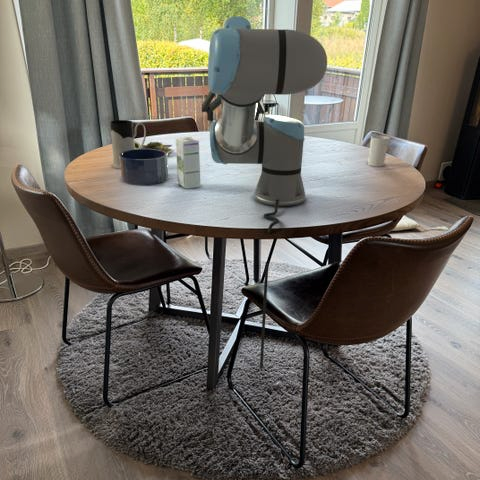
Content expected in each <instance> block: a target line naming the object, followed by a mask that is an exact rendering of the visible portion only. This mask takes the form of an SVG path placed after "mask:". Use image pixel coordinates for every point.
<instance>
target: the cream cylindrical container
mask: <svg viewBox="0 0 480 480" xmlns="http://www.w3.org/2000/svg"><path fill="white" fill-rule="evenodd" d="M389 142H390V136H387V135H381V134H374V135H370V144H369V153H368V161H367V162H368V163H367V164H368V166H371V167H383V166H384V165H385V160H386V156H387V152H388V148H389V147H388V146H389Z"/></svg>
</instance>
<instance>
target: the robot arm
mask: <svg viewBox="0 0 480 480" xmlns="http://www.w3.org/2000/svg"><path fill="white" fill-rule="evenodd" d="M208 48H209V49H208V58H207V59H208V60H207V61H208V62H207V83H208V85H207V86H208V90H209V92H208V93H207V96H206V97H205V99H204V100H203V102H202V104H201V112H202V113H206V120H207V122H210V126H209V146H210V153H211V154H210V155H211V158H212V160H213V162H215V164H223V165H228V164H234V165H235V164H237V165H238V164H241V165H242V164H243V165H253V164H254V165H256V164H257V165H261V173H260V176H259V179H258V182H257V184H256V187H255V190H254V200H255V201H256V202H258V203H259V204H263V205H266V206H271V207H274V210H273V212H267V213H264V214H263V218H264V219H266V220H270V221H272V222H271V223H270V224H269V226H268V228H267V233H268V234H270V233H272V229H273V227H274V226H275V225H278V224H279V223H280V220H279V218H277V217H275V216H276V214H277V213H278V211H279V209H278V207H295V206H298V205H301V204H304V202H305V200H306V190H305V186H304V182H303V178H302V164H303V153H304V143H305V139H306V138H305V125H304V123H303V122H302V121H300V120H298V119H296V118H292V117H288V116H284V115H278V114H265V111H266V110H265V105H264V103H263V101H262V100H263V98H264V97H265V95H273V96H275V95H277V96H278V95H280V96H281V95H283V96H284V95H285V96H287V95H295V94H299V93H303V92H306V91H309V90H311V89H312V88H314V87H315V86H317V85H318V84H319V83H320V82H321V81H322V80H323V78H324V77H325V74H326V71H327V69H328V56H327V52H326V50H325V48H324V46H323V45H322V43H321V42H320V41H319V40H317V39H316V38H315V37H313V36H311V35H310V34H308V33H305V32H304V31H303V32H302V31H299V30H294V29H289V28H287V29H277V28H275V29H274V28H273V29H272V28H252V24H251V22H250V21H249V20H248V19H247V18H246V17H243V16H241V15H240V16H239V15H238V16H236V15H234V16H230V17H228V18H227V19H226V20H225V21H224V24H223V28H217V29H215V30H214V31H213V32H212V34H211V37H210V42H209V47H208ZM216 95H218V96H217V97H216ZM215 97H216V98H215ZM219 106H220V117H219V118H218V119H215V120H214V111H215V110H216V109H217V108H219ZM260 114H261V115H264V114H265V115H264V117H263V119H262V120H259V117H260ZM269 264H270V263H269V262H268V261H267V262H265V266H264V269H265V270H264V281H263V283H264V284H263V300H262V301H263V302H262V321H261V340H260V357H259V358H260V359H259V369H260V370H263V367H264V351H265V333H266V332H265V331H266V315H267V297H268V281H269V267H270V265H269Z"/></svg>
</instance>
